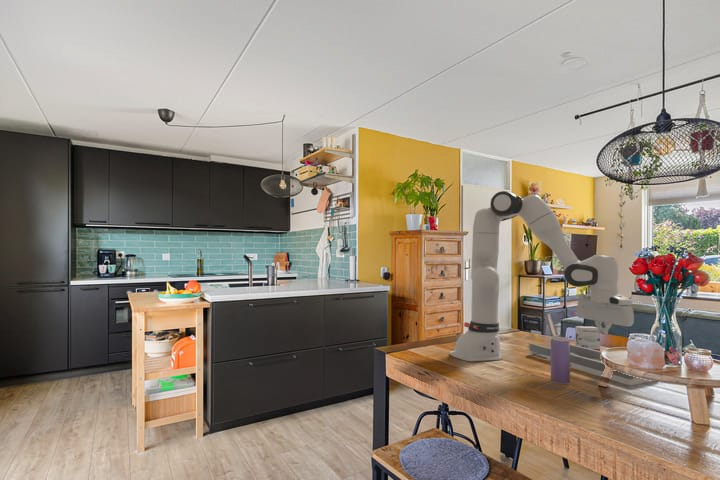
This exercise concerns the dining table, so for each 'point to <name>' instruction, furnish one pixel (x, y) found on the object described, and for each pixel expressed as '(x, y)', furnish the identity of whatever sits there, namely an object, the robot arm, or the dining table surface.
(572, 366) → the trap track
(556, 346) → the beverage can
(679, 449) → the dining table surface
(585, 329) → the ink box
